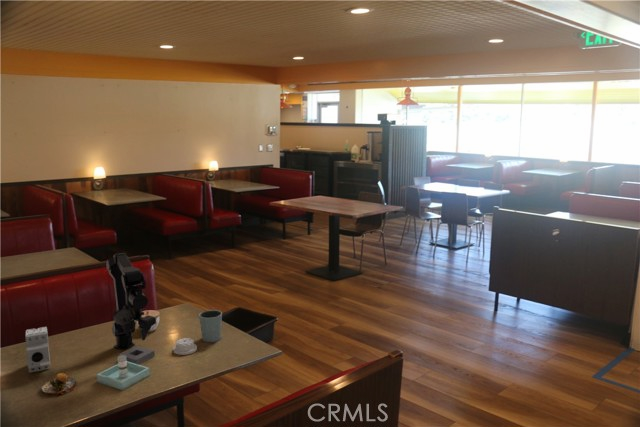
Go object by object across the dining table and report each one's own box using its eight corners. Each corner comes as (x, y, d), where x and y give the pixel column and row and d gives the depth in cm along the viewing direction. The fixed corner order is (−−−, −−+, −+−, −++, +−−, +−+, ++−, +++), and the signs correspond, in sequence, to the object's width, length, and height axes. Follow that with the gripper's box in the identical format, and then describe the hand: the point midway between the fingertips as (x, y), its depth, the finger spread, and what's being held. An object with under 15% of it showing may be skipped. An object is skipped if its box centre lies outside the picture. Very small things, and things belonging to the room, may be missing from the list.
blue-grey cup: (227, 337, 246) (226, 312, 244) (211, 345, 238) (210, 319, 236) (210, 332, 251) (210, 308, 249) (195, 339, 243) (194, 314, 241)
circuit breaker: (28, 379, 206) (25, 342, 203) (29, 364, 218) (25, 329, 216) (50, 375, 209) (47, 339, 207) (49, 360, 222) (46, 326, 219)
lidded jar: (139, 325, 259) (138, 307, 258) (162, 324, 261) (161, 306, 259) (134, 334, 249) (133, 315, 247) (158, 333, 250) (157, 314, 248)
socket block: (118, 360, 222) (118, 354, 222) (137, 351, 231) (137, 345, 230) (136, 365, 218) (136, 360, 217) (154, 356, 226) (154, 350, 226)
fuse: (117, 377, 206) (115, 357, 205) (124, 373, 209) (122, 354, 208) (123, 379, 205) (121, 359, 203) (130, 375, 208) (128, 356, 206)
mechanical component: (169, 354, 229) (191, 356, 227) (168, 344, 228) (190, 346, 226) (179, 344, 238) (200, 346, 236) (179, 335, 238) (200, 337, 236)
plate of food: (52, 381, 205) (50, 362, 204) (82, 381, 205) (80, 363, 204) (34, 397, 194) (32, 377, 192) (66, 397, 193) (65, 378, 192)
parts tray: (97, 381, 204) (96, 374, 204) (125, 367, 216) (124, 360, 216) (122, 390, 198) (121, 382, 197) (150, 375, 210) (149, 368, 209)
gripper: (100, 302, 211) (103, 339, 215) (134, 312, 202) (136, 350, 206) (123, 294, 221) (125, 329, 224) (156, 303, 212) (157, 340, 215)
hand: (135, 337), depth 217 cm, fingers open, 9 cm apart
